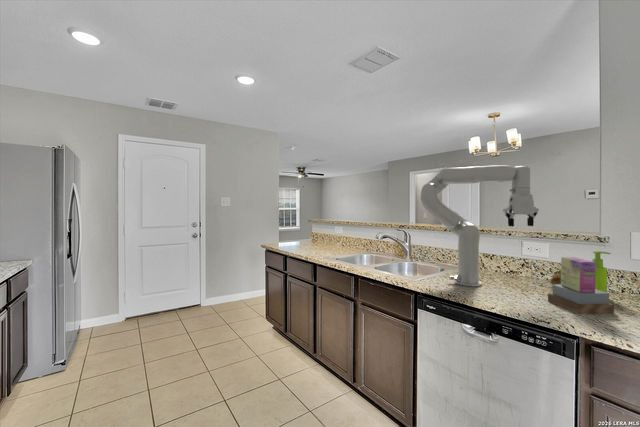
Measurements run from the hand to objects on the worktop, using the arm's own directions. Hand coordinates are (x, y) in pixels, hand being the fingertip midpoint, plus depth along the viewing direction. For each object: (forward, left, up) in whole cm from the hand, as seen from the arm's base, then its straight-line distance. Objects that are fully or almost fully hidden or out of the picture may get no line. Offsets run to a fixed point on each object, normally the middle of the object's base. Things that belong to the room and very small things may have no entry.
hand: (520, 226), depth 145 cm
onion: (+18, -2, -31) cm, 36 cm away
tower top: (+3, -29, -27) cm, 40 cm away
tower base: (+3, -29, -31) cm, 43 cm away
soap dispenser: (+22, -18, -31) cm, 42 cm away
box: (+2, -29, -23) cm, 37 cm away
